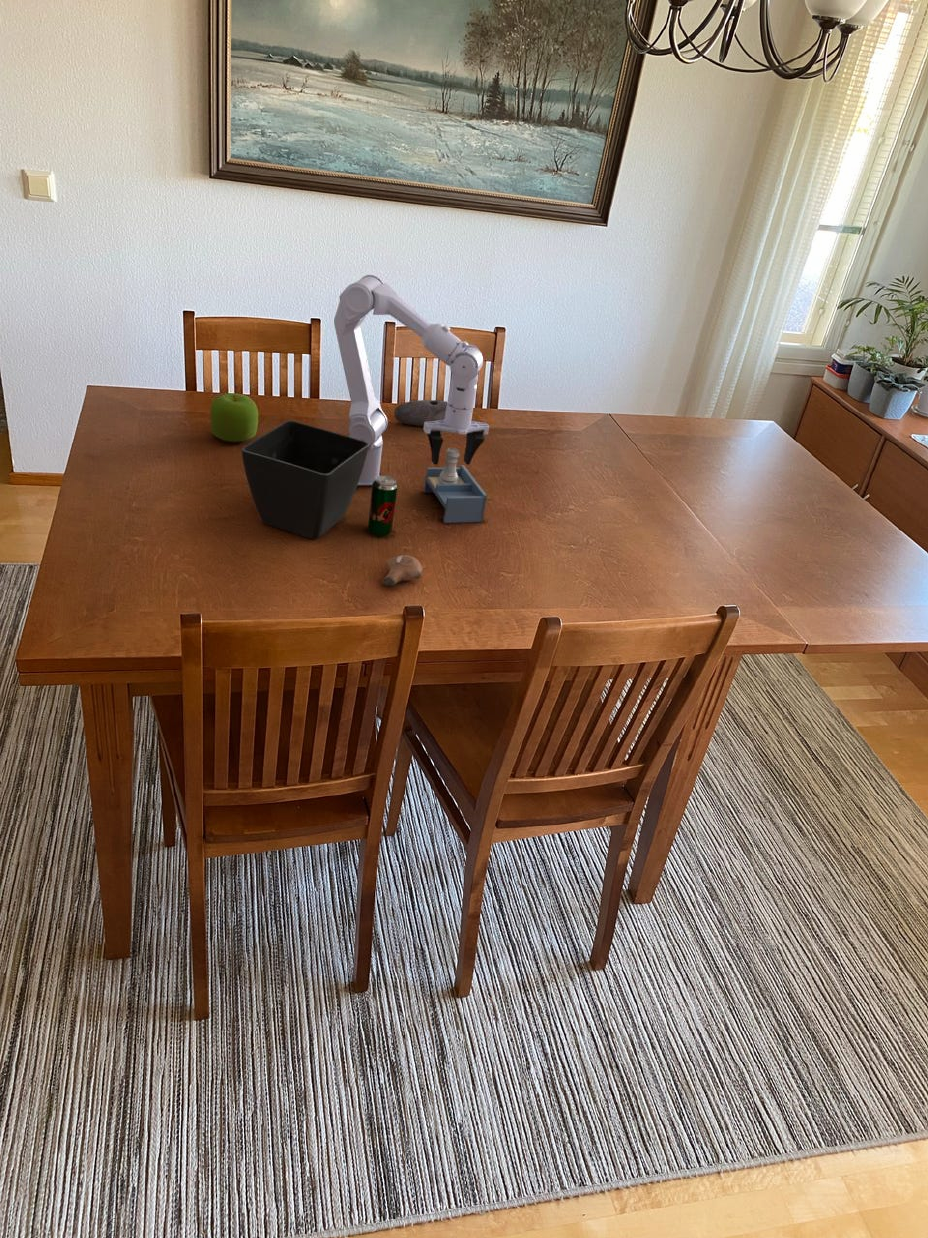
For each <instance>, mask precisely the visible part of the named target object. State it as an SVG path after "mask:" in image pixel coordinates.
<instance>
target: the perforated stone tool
mask: <svg viewBox="0 0 928 1238" xmlns="http://www.w3.org/2000/svg"><path fill="white" fill-rule="evenodd" d="M446 407H447V401H445V400H438V399H437V400H436V399H435V400H433V399H422V400H421V399H418V400H410V401H406V402H403V403H401V404H398V405H397V406H396V407H395V409H394V412H393V416H394V418H395V420H397V422H400V423H402V424H404V425H409V426H411V425H412V426H415V427H423V428H424V422H431V421H437V420H444V419H445V414H446Z"/></svg>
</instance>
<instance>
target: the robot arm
mask: <svg viewBox="0 0 928 1238" xmlns="http://www.w3.org/2000/svg"><path fill="white" fill-rule="evenodd" d="M338 299H339V302H338V305H337V308H336V309H337V310H336V312H335V315H334V318H333V326H334V329H335V334H336V339H337V343H338V349H339V353H340V358H341V362H342V366H343V371H344V375H345V380H346V385H347V391H348V396H349V399H350V409H349V413H348V420H349V427H348V437H351V438H355V439H358V440H361V441H365V442H367V443H369V447H368V452H367V456H366V459H365V463H364V467H363V470H362V473H361V476H360V479H359V482H358V485H357V486H372V484H373V482H374V481H375V478H376V477H377V476H381V475H380V472H381V471H380V469H381V462H382V461H381V460H382V453H383V445H384V441H383V437H382V434H383V433H385V431H386V430H387V427H388V424H389V423H388V421H389V420H388V418H387V416H386V414H385V412H384V411H383V410H382V406H381V402H380V400H378V399H377V398H376V397H375V393H374V388H373V383H372V377H371V372H370V368H369V363H368V358H367V353H366V348H365V343H364V338H363V332H362V329H361V325H362V323H363V322H364V321H365V319H366V318H367V316H368V315H369V313H370V312H372V311H373V312H372V315H373V316H391V317H392V318H394V319H395V320H396V321H397V322H399V323H401V324H402V325H403V326H405V327H406V328H408V329H409V330H411V331H412V332H413V333H415V334H416V335H417V336H419V337H420V338H421V342H422V346H423V347H424V348H425V349H426V350H428V351H429V352H430V353H431V354H432V355H434V356H435V357H436V358H437V359H439V360H440V361H441V362H443V363H444V364H445V365H446V366H448V367H449V370H450V372H451V374H452V375H451V381H450V384H449V390H448V395H447V401H446V402H447V407H446V414H445V419H444V420H437V421H431V422H424V427H423V428H422V429H423V432H424V433H425V434H426V435H427V438H428V441H429V442H428V443H429V446H430V451H431V462H432V464H433V465H434V466H437V465H438V464H439V460H440V452H441V450H442V449H441V448H442V446H443V443H444V439H443V437H442V434H441V433H444V434H445V433H447V434H452V433H453V434H458V435H466V442H465V448H464V455H463V462H464V463H465V464H466V465H467V466H469V465H471V462H472V459H473V457H474V456H475V453H476V452H477V450H478V449H479V448H480V446H481V445H482V444H483V443H484V442H485V439H486V438H485V436H484V435H489V429H490V426H489V424H488V423H487V422H481V421H474V420H472V419H473V412H474V406H475V401H476V395H477V388H478V382H479V371H480V370H481V369H482V367H483V363H484V355H483V353H482V352H481V350H480V349H478V347H477V346H476V345H473V344H469V342H467V341H466V340H464V341H463V340H461V339H460V338H459V337H458V336H457V335H455V334H454V333H453V332H452V331H450V330H451V327H450V326H449V325H447V324H444V325H443V324H442V323H431V322H430V321H429V320H428V319H426V318H425V317H424V316H423V315H422V314H420V313H419V312H418V311H417V310H416V309H415V308H414V307H413V306H412V305H410V304H409V302H407V301H406V300H405V299H404V298H403V297H401V295H399V294H398V293H397V292H396V291H395V289H394V288H393V287H392V286H391V285H390V284H388V283H386V282H383V280H382V279H381V278H380V277H378V276H377V275H374V274H366V275H364V276H362V277H360V279H359V280H357V281H355V282H353V283H350V284H349V285H347V286H346V288H345V289H344V290H343V291H342V292H341V293H340V295H339V298H338Z"/></svg>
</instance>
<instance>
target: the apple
mask: <svg viewBox="0 0 928 1238" xmlns="http://www.w3.org/2000/svg"><path fill="white" fill-rule="evenodd" d="M209 410H210V411H209V413H210V417H209V419H210V426H211V428H210V429H211V434H212V435H213V436H215V437H216V438H218V439H219V440H220V441H222V442H224V443H228V444H240V443H244V442H245V441H248V440H250V439H252V438H254V437H255V436H256V435H257V431H258V427H259V426H258V425H259V409H258V407H257V404H256V402H255V401H254V400H253V399H252V398H251V397H249V396H248V395H245V394H241V393H237V392H229V393H223V394H220V395H217V397H215V398H214V399H213V400H212V401H211V403H210V409H209Z"/></svg>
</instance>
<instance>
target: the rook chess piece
mask: <svg viewBox="0 0 928 1238" xmlns="http://www.w3.org/2000/svg"><path fill="white" fill-rule="evenodd" d="M445 455H446V457H445V458H444V460H445V464H444V467H443V468H444V469H443V470H442V472H441V473H440V478H439V481H440V483H441V484H457V483H458V481H457V480H458V475H457V472H456V467H457V463H458V462H459V460H458V458H459V457H460V456H461V453H460V450H459V448H457V447H454V448H453V446H452V447H448V448H447V450H445Z"/></svg>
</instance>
